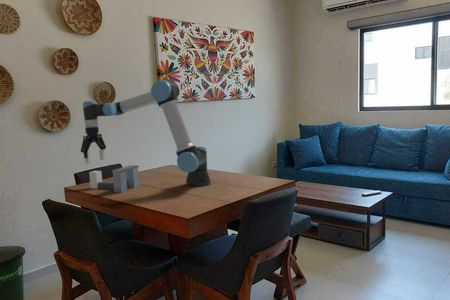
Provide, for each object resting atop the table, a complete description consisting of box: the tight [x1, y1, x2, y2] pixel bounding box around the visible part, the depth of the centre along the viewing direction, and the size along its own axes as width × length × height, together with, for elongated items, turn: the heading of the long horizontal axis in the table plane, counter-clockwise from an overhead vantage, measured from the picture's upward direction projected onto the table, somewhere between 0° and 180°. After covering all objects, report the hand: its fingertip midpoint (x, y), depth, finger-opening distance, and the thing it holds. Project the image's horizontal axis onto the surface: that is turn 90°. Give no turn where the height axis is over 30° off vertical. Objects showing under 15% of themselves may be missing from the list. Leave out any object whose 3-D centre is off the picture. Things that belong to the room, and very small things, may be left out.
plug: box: [88, 170, 114, 190], centre depth 228 cm, size 20×5×10 cm, turn 70°
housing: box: [111, 164, 140, 194], centre depth 223 cm, size 6×18×13 cm, turn 160°
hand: (95, 161), depth 229 cm, fingers open, 13 cm apart
